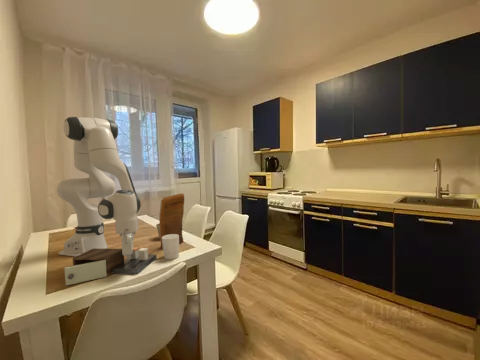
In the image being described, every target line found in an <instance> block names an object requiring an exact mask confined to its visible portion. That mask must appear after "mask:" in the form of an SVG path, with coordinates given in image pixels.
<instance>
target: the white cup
mask: <svg viewBox="0 0 480 360" xmlns="http://www.w3.org/2000/svg"><path fill="white" fill-rule="evenodd" d="M162 245H163V249H162V251H163V258H164V260H175V259H177V258H178V257H179V256H180V254H179V253H180V244H179V235H178V234H169V235H165V236H163V237H162Z"/></svg>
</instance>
